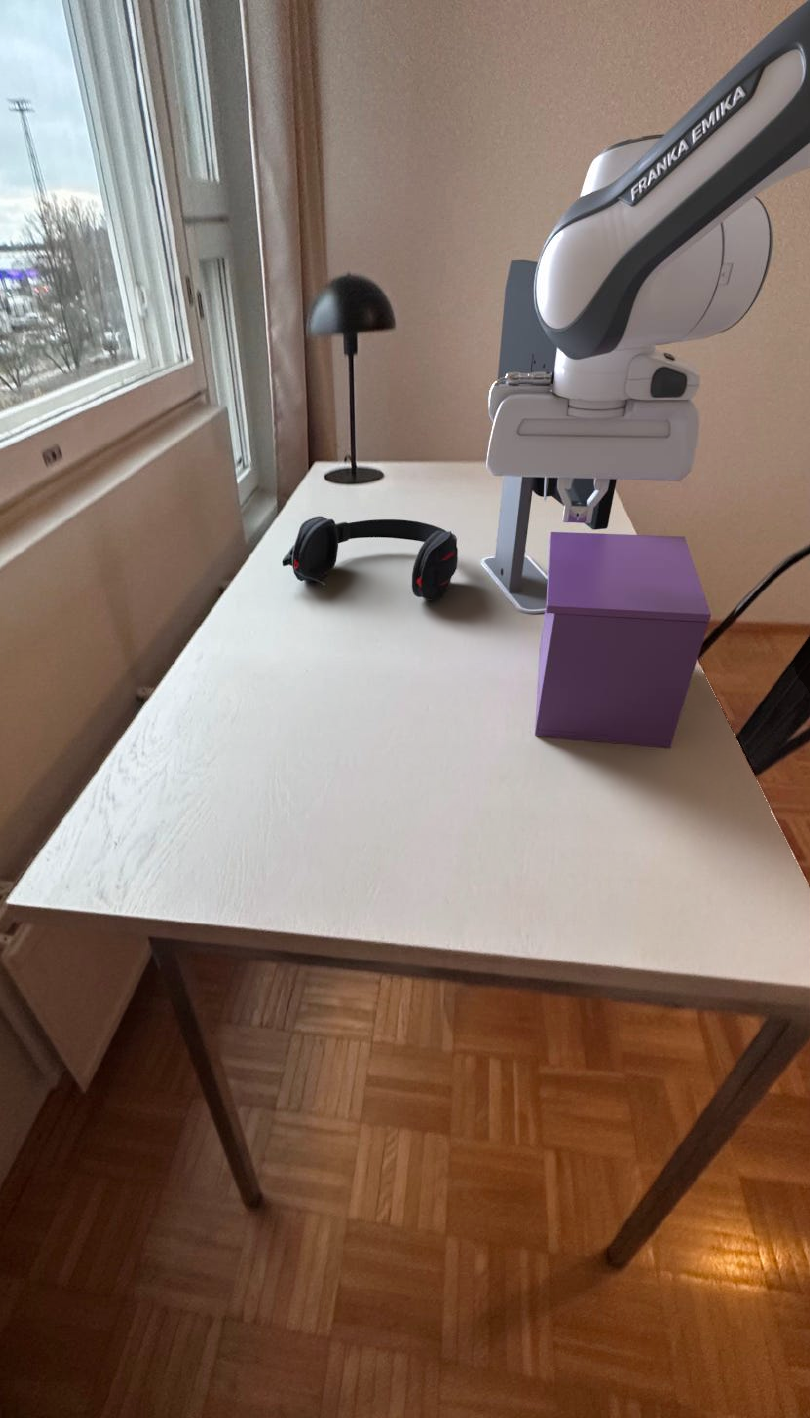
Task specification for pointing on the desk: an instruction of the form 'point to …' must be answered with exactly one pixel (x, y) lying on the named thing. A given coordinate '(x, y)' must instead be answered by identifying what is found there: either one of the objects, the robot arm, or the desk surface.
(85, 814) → the desk surface
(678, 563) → the lid
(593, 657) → the file box
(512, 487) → the computer monitor
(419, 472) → the desk surface
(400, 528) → the headset
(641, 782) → the desk surface
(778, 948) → the desk surface
